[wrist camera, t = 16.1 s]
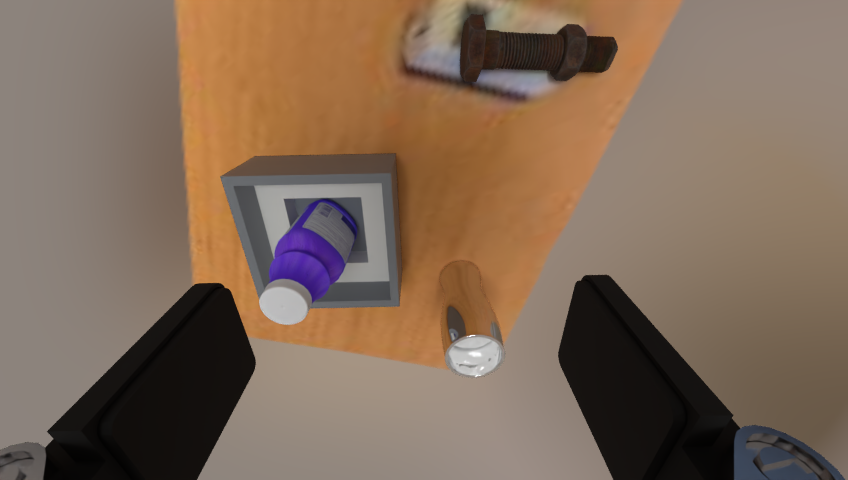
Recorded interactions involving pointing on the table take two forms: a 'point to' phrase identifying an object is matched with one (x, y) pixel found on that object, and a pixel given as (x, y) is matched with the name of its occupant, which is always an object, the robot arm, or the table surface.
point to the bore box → (314, 180)
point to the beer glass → (469, 323)
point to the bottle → (308, 261)
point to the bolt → (533, 51)
